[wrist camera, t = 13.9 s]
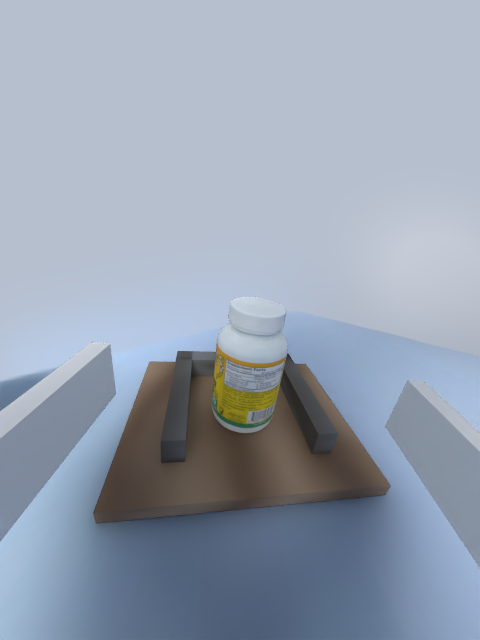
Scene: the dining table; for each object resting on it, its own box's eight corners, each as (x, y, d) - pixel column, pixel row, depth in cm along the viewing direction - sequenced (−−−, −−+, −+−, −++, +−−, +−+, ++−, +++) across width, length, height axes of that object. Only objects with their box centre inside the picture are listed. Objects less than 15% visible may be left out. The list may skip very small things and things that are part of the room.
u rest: (304, 370, 28) (309, 349, 27) (385, 494, 16) (402, 465, 15) (149, 369, 25) (148, 345, 24) (96, 523, 12) (88, 488, 11)
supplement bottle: (265, 445, 17) (292, 328, 13) (199, 421, 18) (206, 308, 14) (277, 398, 22) (299, 302, 18) (224, 382, 23) (234, 289, 19)
